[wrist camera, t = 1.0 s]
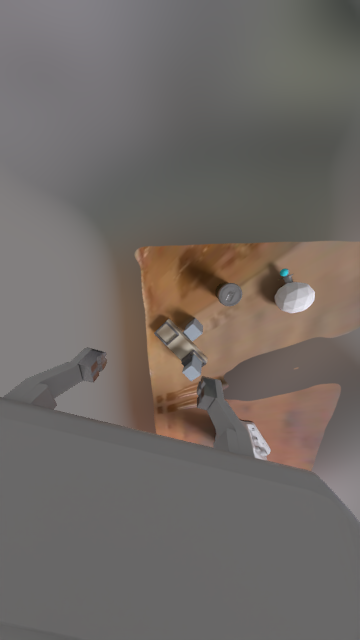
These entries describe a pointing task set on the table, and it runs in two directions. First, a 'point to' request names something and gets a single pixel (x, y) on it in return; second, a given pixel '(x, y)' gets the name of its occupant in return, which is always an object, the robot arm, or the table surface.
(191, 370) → the block
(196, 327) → the block
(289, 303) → the perfume bottle
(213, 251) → the table surface
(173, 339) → the rail
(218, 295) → the beer can
